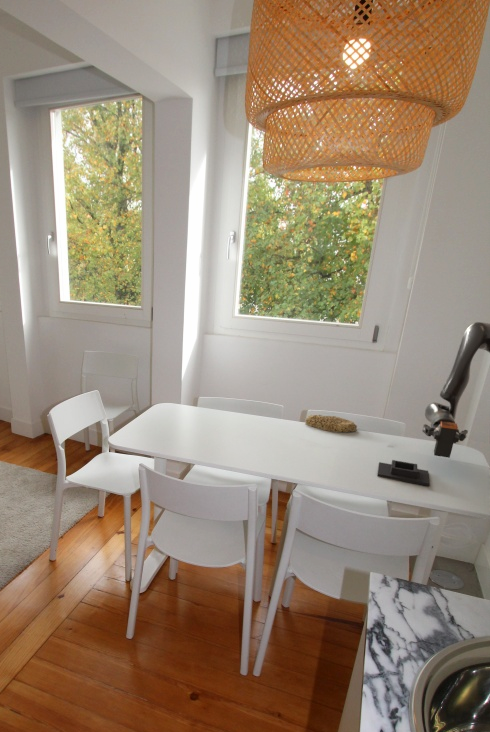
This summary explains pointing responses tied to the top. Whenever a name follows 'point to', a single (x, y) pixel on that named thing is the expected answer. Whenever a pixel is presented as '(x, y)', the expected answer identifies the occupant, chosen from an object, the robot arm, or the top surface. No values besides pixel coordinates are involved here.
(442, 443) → the black and orange block
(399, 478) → the base pad
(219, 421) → the top surface
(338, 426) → the sponge
